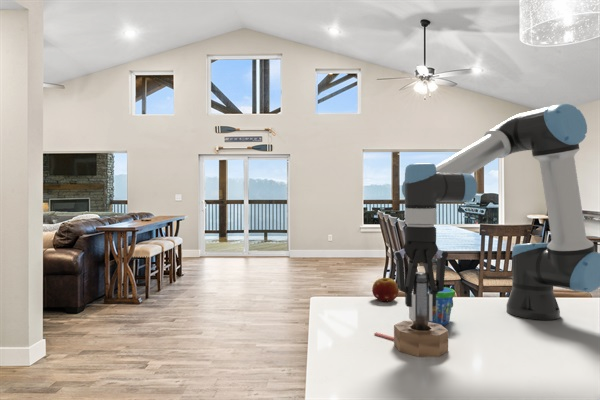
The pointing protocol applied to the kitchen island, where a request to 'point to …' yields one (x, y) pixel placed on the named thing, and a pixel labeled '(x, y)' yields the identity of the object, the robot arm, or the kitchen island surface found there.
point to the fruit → (385, 289)
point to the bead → (421, 339)
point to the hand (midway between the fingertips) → (420, 319)
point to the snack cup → (443, 306)
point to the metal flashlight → (421, 301)
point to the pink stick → (384, 336)
